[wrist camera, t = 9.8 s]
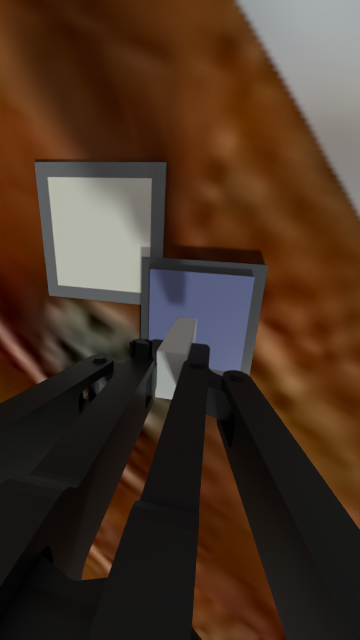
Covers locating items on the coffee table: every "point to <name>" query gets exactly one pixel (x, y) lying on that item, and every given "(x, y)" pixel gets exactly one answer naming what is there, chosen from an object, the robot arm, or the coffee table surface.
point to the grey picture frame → (100, 226)
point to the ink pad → (205, 305)
